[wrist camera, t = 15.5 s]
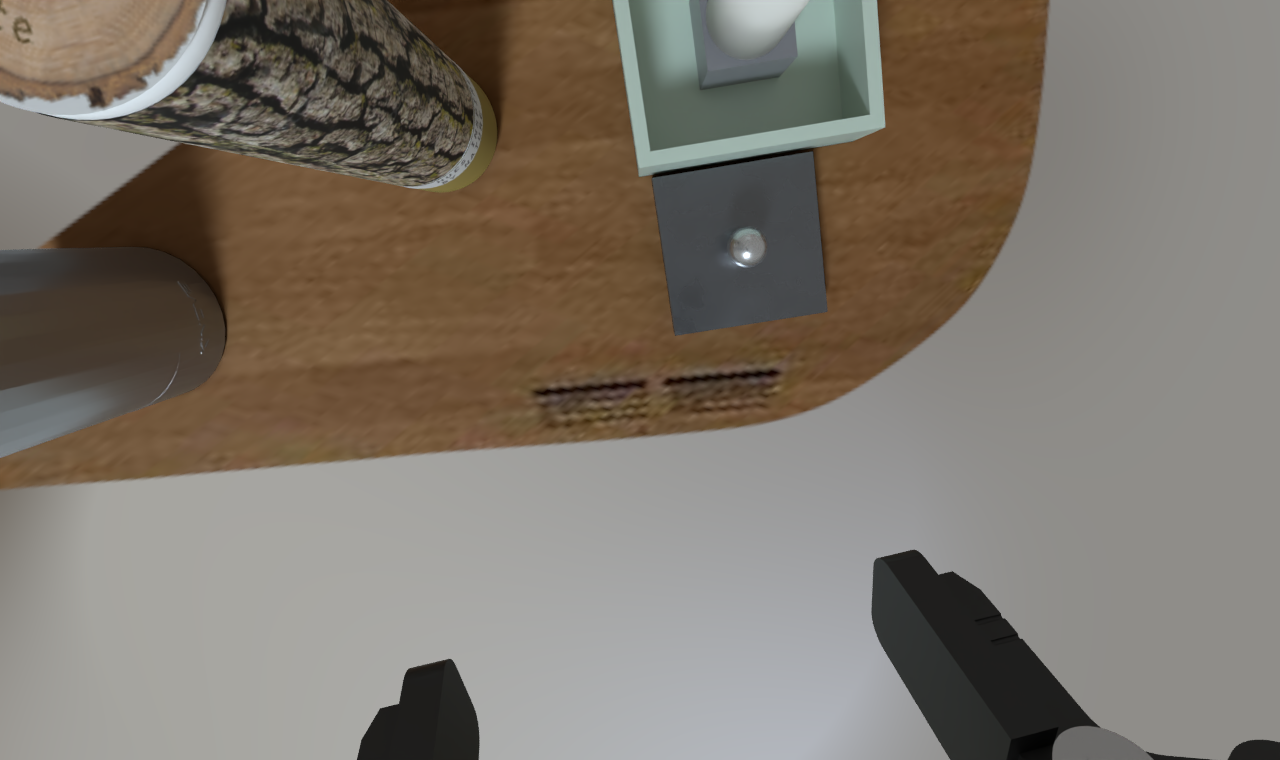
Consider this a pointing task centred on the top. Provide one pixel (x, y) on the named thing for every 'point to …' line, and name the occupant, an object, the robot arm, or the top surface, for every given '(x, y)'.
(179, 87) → the paper tube
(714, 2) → the white rounded piece
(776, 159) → the stud plate
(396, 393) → the top surface
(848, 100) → the bin
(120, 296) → the robot arm
